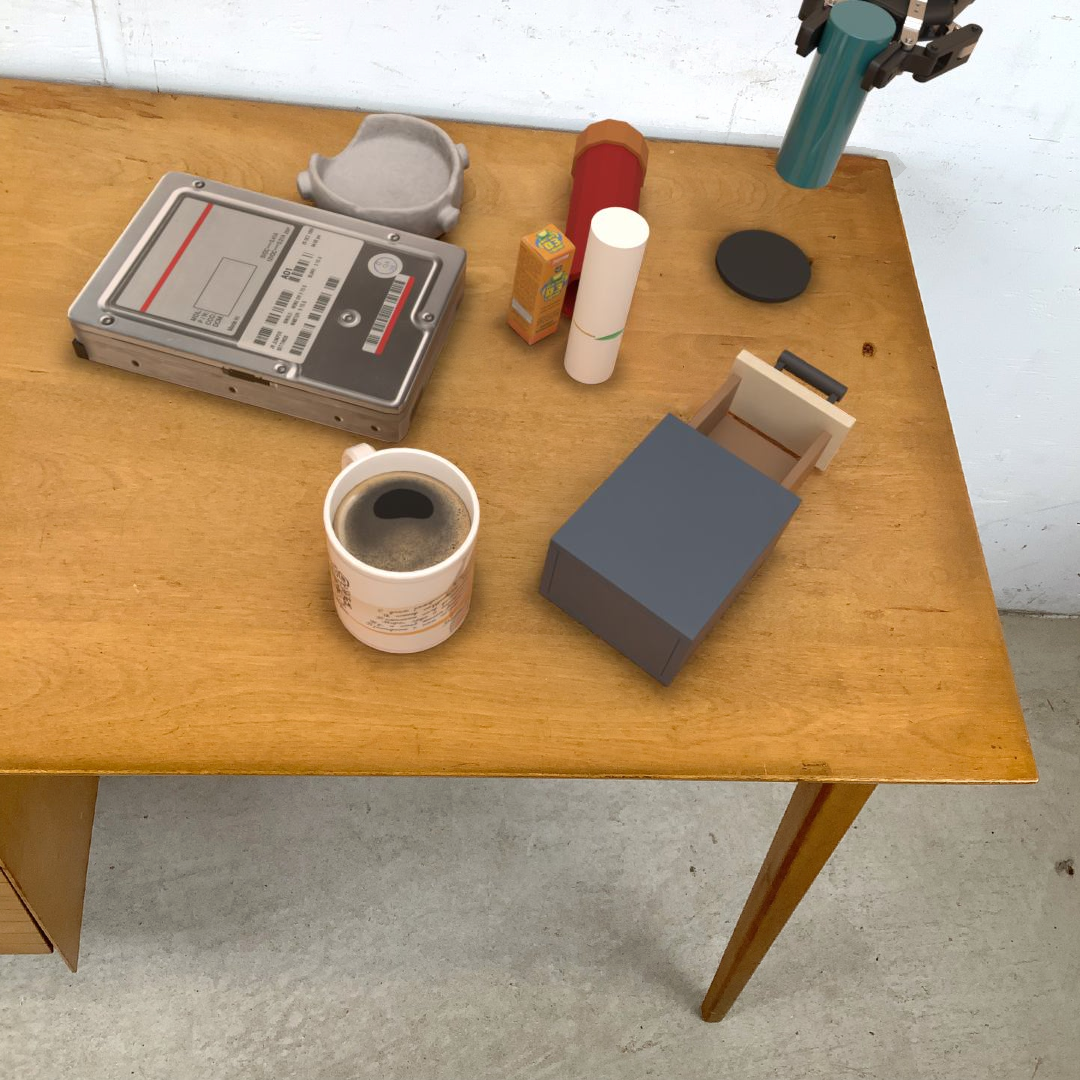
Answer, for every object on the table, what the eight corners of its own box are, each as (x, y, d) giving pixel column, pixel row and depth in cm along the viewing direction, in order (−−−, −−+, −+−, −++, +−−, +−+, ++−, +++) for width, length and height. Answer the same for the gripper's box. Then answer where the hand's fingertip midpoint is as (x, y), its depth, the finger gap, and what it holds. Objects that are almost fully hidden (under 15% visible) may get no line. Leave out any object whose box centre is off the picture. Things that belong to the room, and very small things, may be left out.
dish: (287, 230, 91) (281, 185, 86) (348, 139, 98) (345, 93, 94) (440, 277, 90) (442, 233, 85) (490, 181, 97) (493, 136, 93)
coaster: (825, 267, 96) (828, 262, 95) (778, 318, 92) (780, 313, 91) (746, 220, 98) (748, 215, 98) (697, 268, 94) (698, 263, 93)
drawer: (749, 367, 87) (770, 319, 82) (854, 432, 84) (881, 387, 79) (633, 494, 79) (648, 450, 74) (745, 571, 76) (768, 531, 71)
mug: (308, 640, 70) (293, 559, 61) (349, 499, 77) (341, 406, 67) (458, 665, 70) (465, 589, 61) (486, 523, 77) (496, 434, 67)
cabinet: (648, 471, 81) (669, 411, 75) (770, 553, 78) (803, 499, 72) (537, 592, 74) (550, 538, 68) (667, 687, 71) (692, 640, 65)
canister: (841, 170, 83) (907, 20, 72) (813, 198, 81) (877, 48, 70) (792, 142, 85) (850, -9, 74) (763, 169, 82) (818, 18, 71)
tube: (558, 376, 85) (585, 239, 72) (569, 340, 87) (597, 201, 75) (608, 389, 85) (643, 254, 72) (617, 353, 87) (654, 215, 75)
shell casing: (640, 184, 99) (655, 122, 93) (623, 331, 89) (639, 271, 83) (571, 172, 99) (581, 109, 93) (546, 318, 88) (556, 257, 83)
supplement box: (531, 349, 86) (544, 261, 78) (506, 324, 88) (516, 234, 79) (560, 332, 88) (577, 244, 79) (535, 308, 89) (549, 218, 80)
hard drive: (177, 209, 90) (167, 168, 87) (467, 287, 89) (470, 249, 86) (77, 356, 81) (61, 317, 77) (401, 446, 80) (401, 410, 76)
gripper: (876, -118, 79) (767, -34, 71) (1043, -39, 75) (948, 58, 67) (841, -23, 85) (737, 63, 77) (994, 54, 82) (901, 153, 74)
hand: (836, 60), depth 72 cm, fingers closed on canister, 5 cm apart
